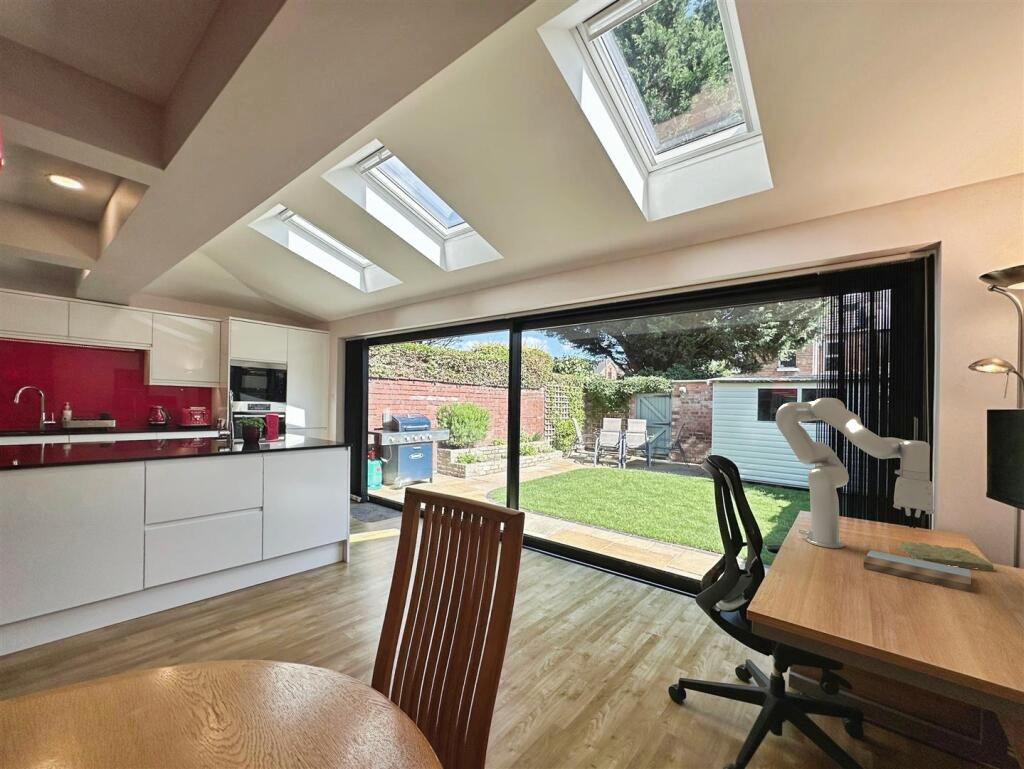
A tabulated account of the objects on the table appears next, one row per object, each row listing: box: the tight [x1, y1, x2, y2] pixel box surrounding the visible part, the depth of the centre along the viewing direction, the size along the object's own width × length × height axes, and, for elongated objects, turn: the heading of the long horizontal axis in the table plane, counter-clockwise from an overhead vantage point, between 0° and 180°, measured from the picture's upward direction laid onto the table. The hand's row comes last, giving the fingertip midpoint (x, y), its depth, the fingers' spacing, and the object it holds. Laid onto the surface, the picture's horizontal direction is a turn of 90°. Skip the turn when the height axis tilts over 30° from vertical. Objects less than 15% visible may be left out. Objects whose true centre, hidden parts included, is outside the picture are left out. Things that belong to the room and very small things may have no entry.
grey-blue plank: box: [866, 549, 971, 577], centre depth 152 cm, size 26×8×2 cm, turn 45°
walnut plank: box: [863, 555, 972, 593], centre depth 146 cm, size 26×8×2 cm, turn 45°
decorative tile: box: [897, 541, 994, 572], centre depth 163 cm, size 19×20×4 cm
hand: (912, 527), depth 155 cm, fingers closed
